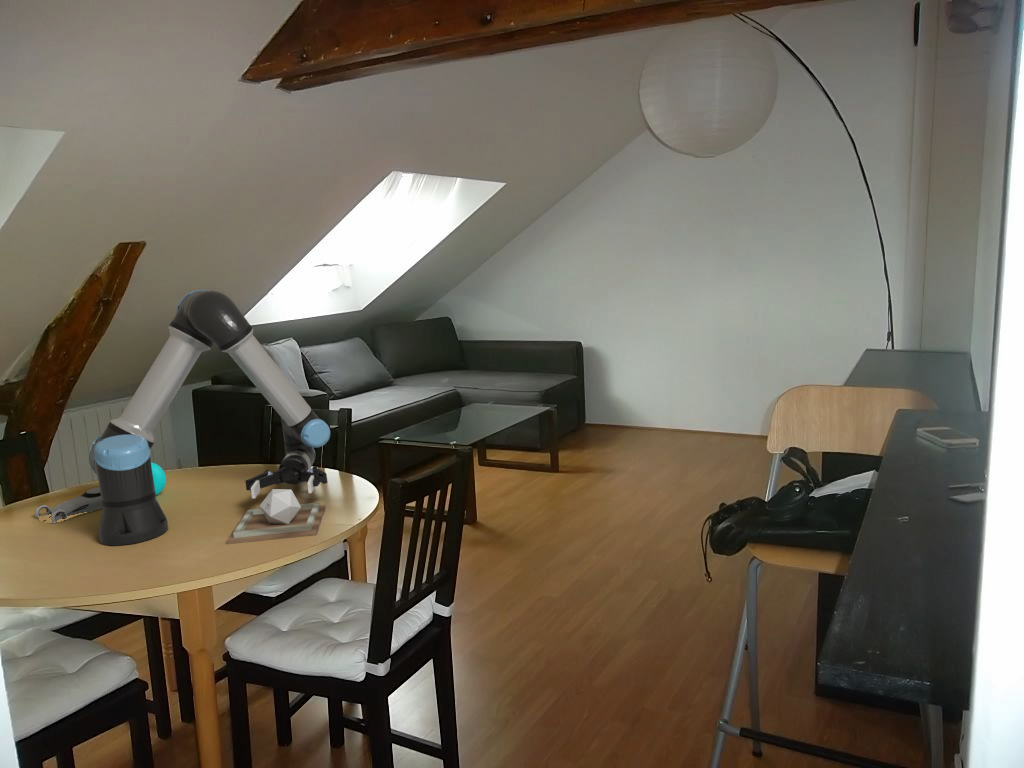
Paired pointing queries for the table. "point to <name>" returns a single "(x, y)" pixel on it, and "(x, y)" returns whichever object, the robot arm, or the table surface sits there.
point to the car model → (74, 505)
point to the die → (280, 506)
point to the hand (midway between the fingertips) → (281, 490)
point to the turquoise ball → (158, 478)
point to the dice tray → (277, 525)
